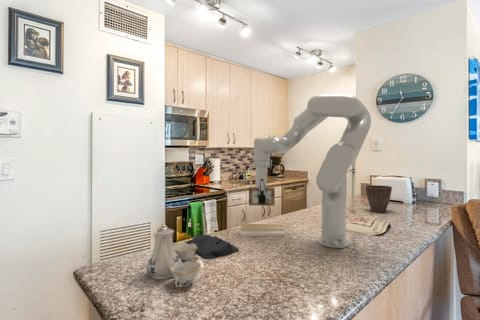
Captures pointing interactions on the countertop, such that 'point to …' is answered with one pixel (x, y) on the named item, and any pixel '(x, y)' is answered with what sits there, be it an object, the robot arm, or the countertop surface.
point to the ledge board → (262, 230)
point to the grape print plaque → (365, 224)
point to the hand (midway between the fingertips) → (261, 202)
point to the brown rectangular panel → (268, 196)
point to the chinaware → (172, 259)
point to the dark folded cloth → (212, 247)
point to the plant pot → (378, 197)
